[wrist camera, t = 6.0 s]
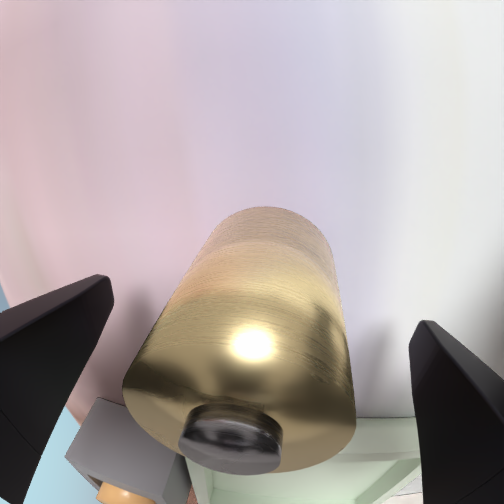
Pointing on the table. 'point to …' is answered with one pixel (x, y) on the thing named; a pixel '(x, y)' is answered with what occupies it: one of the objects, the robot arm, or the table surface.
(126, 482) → the grey open box
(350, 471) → the trough tray
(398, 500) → the white open box
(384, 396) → the table surface
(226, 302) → the brass cell
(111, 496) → the test button
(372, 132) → the table surface
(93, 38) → the table surface
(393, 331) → the table surface
